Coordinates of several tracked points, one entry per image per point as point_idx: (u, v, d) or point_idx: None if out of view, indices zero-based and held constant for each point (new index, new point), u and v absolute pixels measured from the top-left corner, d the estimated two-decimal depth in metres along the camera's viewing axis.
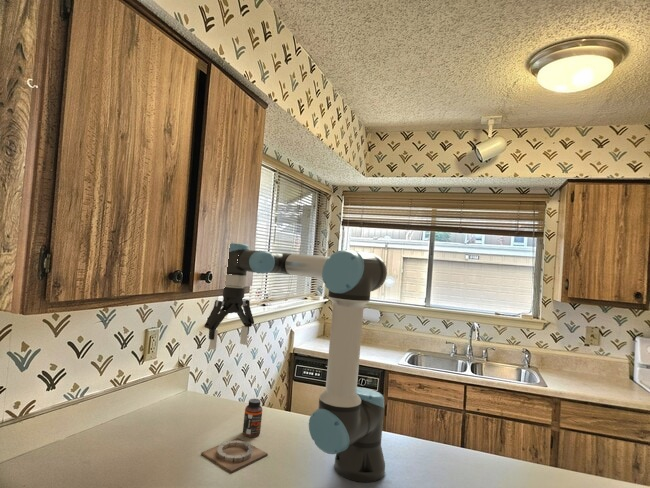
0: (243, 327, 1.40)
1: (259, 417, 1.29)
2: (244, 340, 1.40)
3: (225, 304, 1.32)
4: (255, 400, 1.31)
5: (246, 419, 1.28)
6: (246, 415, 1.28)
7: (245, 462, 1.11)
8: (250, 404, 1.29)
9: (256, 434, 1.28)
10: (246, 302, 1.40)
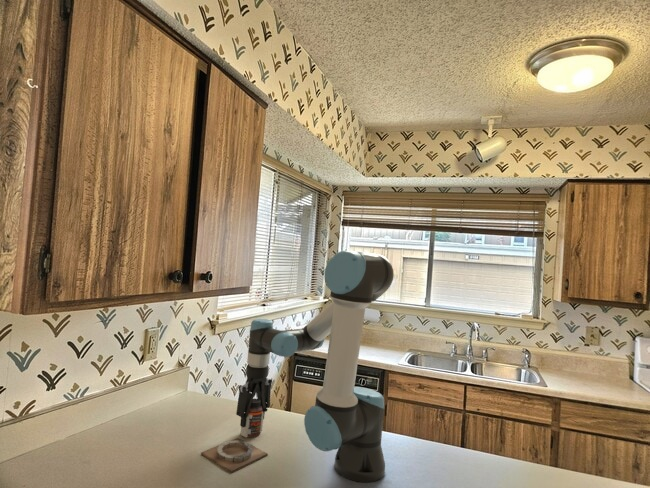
0: None
1: (259, 417, 1.29)
2: None
3: (249, 386, 1.28)
4: (255, 400, 1.31)
5: None
6: None
7: (245, 462, 1.11)
8: None
9: (256, 434, 1.28)
10: (269, 381, 1.35)
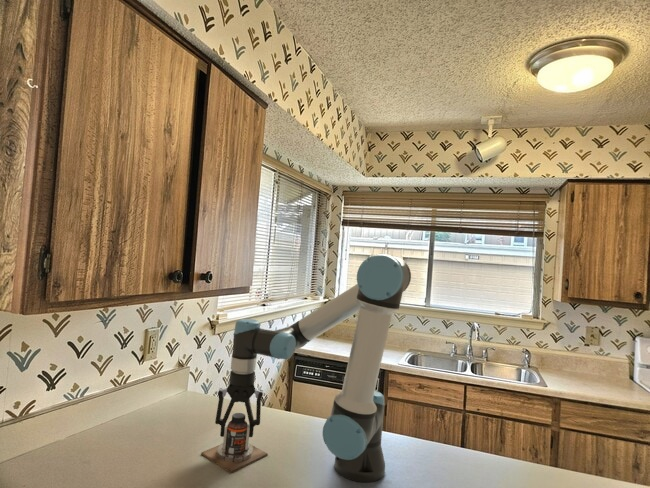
0: (247, 426, 1.17)
1: (243, 434, 1.14)
2: None
3: (228, 392, 1.15)
4: (239, 414, 1.17)
5: (229, 436, 1.14)
6: (229, 432, 1.14)
7: (245, 462, 1.11)
8: (233, 419, 1.15)
9: (240, 453, 1.14)
10: (258, 394, 1.16)
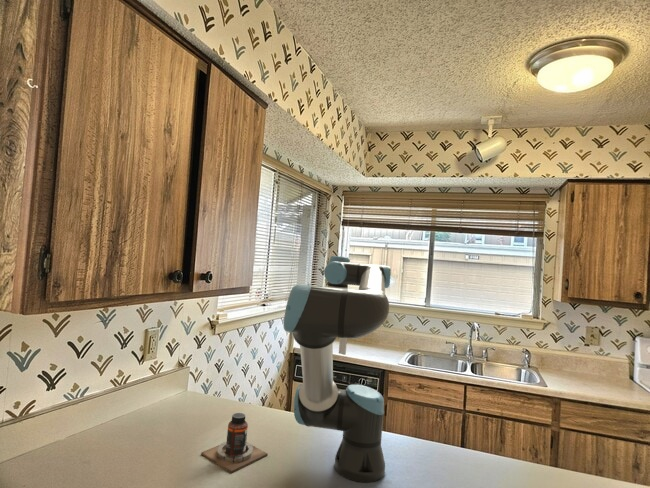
0: (342, 337, 1.44)
1: None
2: (343, 350, 1.43)
3: None
4: (238, 415, 1.16)
5: (243, 437, 1.14)
6: (243, 433, 1.14)
7: (245, 462, 1.11)
8: (243, 420, 1.15)
9: None
10: None
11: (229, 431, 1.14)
